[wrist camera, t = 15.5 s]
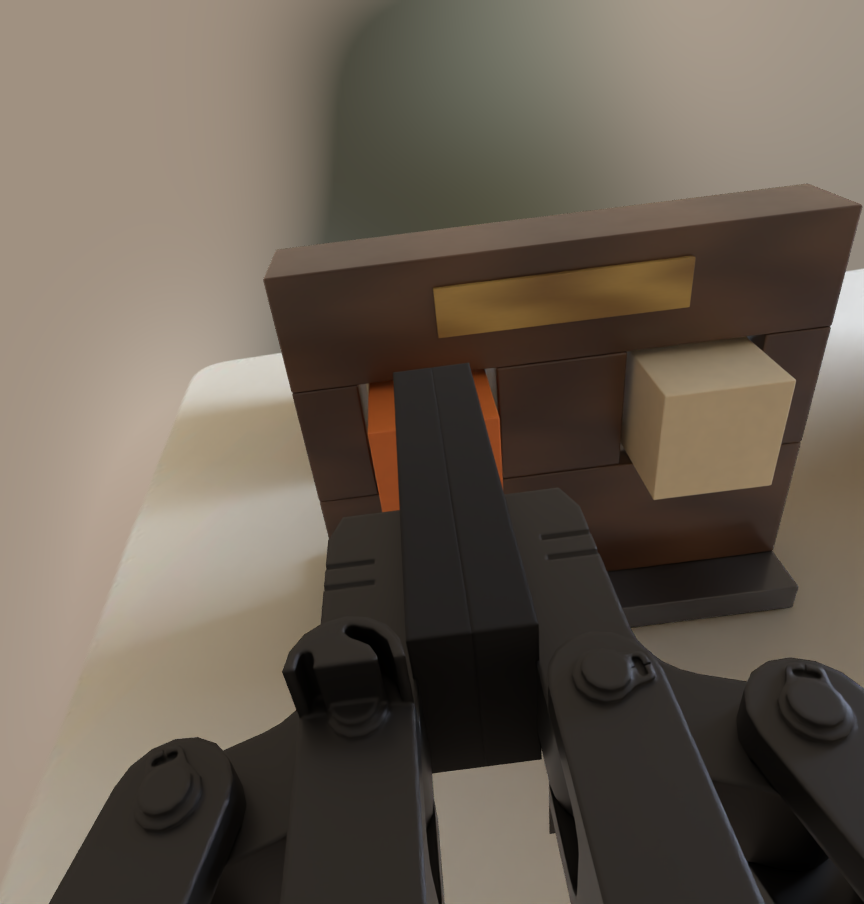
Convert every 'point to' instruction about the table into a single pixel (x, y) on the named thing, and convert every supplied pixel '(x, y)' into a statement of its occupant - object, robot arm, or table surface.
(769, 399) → the beige key
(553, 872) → the table surface
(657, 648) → the table surface
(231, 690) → the table surface
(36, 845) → the table surface
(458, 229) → the brown wooden upright panel
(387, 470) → the orange key
